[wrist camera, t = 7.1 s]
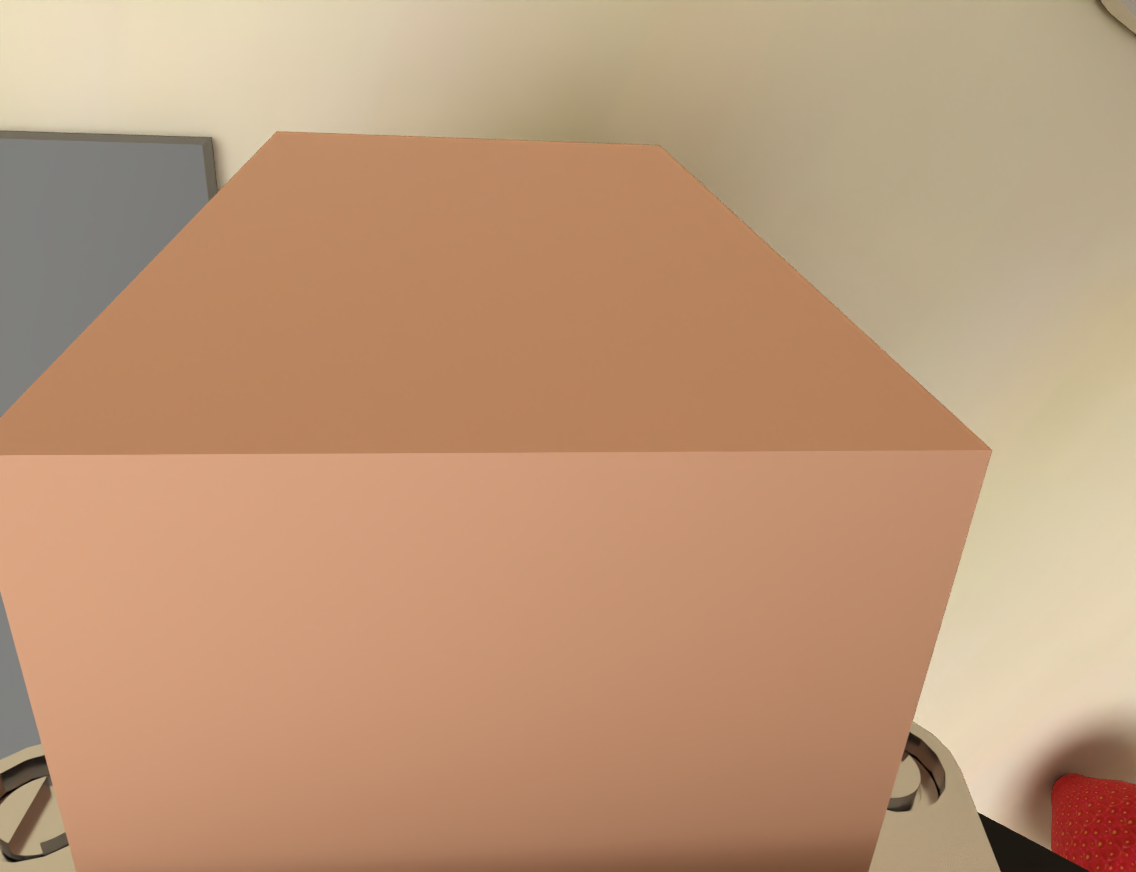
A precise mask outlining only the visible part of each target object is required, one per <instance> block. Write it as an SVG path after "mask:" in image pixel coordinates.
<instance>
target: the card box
mask: <svg viewBox="0 0 1136 872" xmlns="http://www.w3.org/2000/svg"><path fill="white" fill-rule="evenodd" d="M991 453H992V450H991V449H990V448H989V447H988V446H987V445H986V444H985V443H984V442H983V441H982V440H981V439H979V438H978V437H977V436H976V435H975V434H974V433H973V432H972V431H971V430H970V429H969V428H967V427H966V426H965V425H964V424H963V423H962V422H961V421H960V420H959V419H958V418H957V417H955V416H954V415H953V414H952V413H951V412H950V411H949V410H948V409H947V408H946V407H945V406H943V405H942V404H941V403H940V402H939V401H938V400H937V399H936V398H935V397H934V396H933V395H931V394H930V393H929V392H928V391H927V390H926V389H925V388H924V387H923V386H922V385H921V384H919V383H918V382H917V381H916V380H915V379H914V378H913V377H912V376H911V375H910V374H909V373H907V372H906V371H905V370H904V369H903V368H902V367H901V366H900V365H899V364H898V363H897V362H895V361H894V360H893V359H892V358H891V357H890V356H889V355H888V354H887V353H886V352H885V351H883V350H882V349H881V348H880V347H879V346H878V345H877V344H876V343H875V342H874V341H873V340H871V339H870V338H869V337H868V336H867V335H866V334H865V333H864V332H863V331H862V330H861V329H859V328H858V327H857V326H856V325H855V324H854V323H853V322H852V321H851V320H850V319H849V318H847V317H846V316H845V315H844V314H843V313H842V312H841V311H840V310H839V309H838V308H836V307H835V306H834V305H833V304H832V303H831V302H830V301H829V300H828V299H827V298H826V297H824V296H823V295H822V294H821V293H820V292H819V291H818V290H817V289H816V288H815V287H814V286H812V285H811V284H810V283H809V282H808V281H807V280H806V279H805V278H804V277H803V276H802V275H800V274H799V273H798V272H797V271H796V270H795V269H794V268H793V267H792V266H791V265H790V264H788V263H787V262H786V261H785V260H784V259H783V258H782V257H781V256H780V255H779V254H778V253H776V252H775V251H774V250H773V249H772V248H771V247H770V246H769V245H768V244H767V243H766V242H764V241H763V240H762V239H761V238H760V237H759V236H758V235H757V234H756V233H755V232H754V231H752V230H751V229H750V228H749V227H748V226H747V225H746V224H745V223H744V222H743V221H742V220H740V219H739V218H738V217H737V216H736V215H735V214H734V213H733V212H732V211H731V210H730V209H728V208H727V207H726V206H725V205H724V204H723V203H722V202H721V201H720V200H719V199H718V198H716V197H715V196H714V195H713V194H712V193H711V192H710V191H709V190H708V189H707V188H706V187H704V186H703V185H702V184H701V183H700V182H699V181H698V180H697V179H696V178H695V177H694V176H692V175H691V174H690V173H689V172H688V171H687V170H686V169H685V168H684V167H683V166H682V165H680V164H679V163H678V162H677V161H676V160H675V159H674V158H673V157H672V156H671V155H670V154H668V153H667V152H666V151H665V150H664V149H663V148H662V147H661V146H660V145H638V144H610V143H583V142H555V141H528V140H500V139H473V138H445V137H418V136H390V135H362V134H335V133H307V132H280V131H277V132H276V133H275V134H274V135H273V136H272V137H271V138H270V139H269V140H268V141H267V142H266V143H265V144H264V145H263V146H262V147H261V148H260V149H259V150H258V151H257V152H256V153H255V154H254V156H253V157H252V158H251V159H250V160H249V161H248V162H247V163H246V164H245V165H244V166H243V167H242V168H241V169H240V170H239V171H238V172H237V173H236V174H235V175H234V176H233V177H232V178H231V179H230V180H229V181H228V182H227V183H226V184H225V186H224V187H223V188H222V189H221V190H220V191H219V192H218V193H217V194H216V195H215V196H214V197H213V198H212V199H211V200H210V201H209V202H208V203H207V204H206V205H205V206H204V207H203V208H202V209H201V210H200V211H199V212H198V213H197V214H196V216H195V217H194V218H193V219H192V220H191V221H190V222H189V223H188V224H187V225H186V226H185V227H184V228H183V229H182V230H181V231H180V232H179V233H178V234H177V235H176V236H175V237H174V238H173V239H172V240H171V241H170V242H169V243H168V244H167V246H166V247H165V248H164V249H163V250H162V251H161V252H160V253H159V254H158V255H157V256H156V257H155V258H154V259H153V260H152V261H151V262H150V263H149V264H148V265H147V266H146V267H145V268H144V269H143V270H142V271H141V272H140V273H139V274H138V276H137V277H136V278H135V279H134V280H133V281H132V282H131V283H130V284H129V285H128V286H127V287H126V288H125V289H124V290H123V291H122V292H121V293H120V294H119V295H118V296H117V297H116V298H115V299H114V300H113V301H112V302H111V303H110V304H109V306H108V307H107V308H106V309H105V310H104V311H103V312H102V313H101V314H100V315H99V316H98V317H97V318H96V319H95V320H94V321H93V322H92V323H91V324H90V325H89V326H88V327H87V328H86V329H85V330H84V331H83V332H82V333H81V334H80V336H79V337H78V338H77V339H76V340H75V341H74V342H73V343H72V344H71V345H70V346H69V347H68V348H67V349H66V350H65V351H64V352H63V353H62V354H61V355H60V356H59V357H58V358H57V359H56V360H55V361H54V362H53V363H52V364H51V366H50V367H49V368H48V369H47V370H46V371H45V372H44V373H43V374H42V375H41V376H40V377H39V378H38V379H37V380H36V381H35V382H34V383H33V384H32V385H31V386H30V387H29V388H28V389H27V390H26V391H25V392H24V393H23V394H22V396H21V397H20V398H19V399H18V400H17V401H16V402H15V403H14V404H13V405H12V406H11V407H10V408H9V409H8V410H7V411H6V412H5V413H4V414H3V415H2V416H1V417H0V592H1V596H2V600H3V603H4V607H5V611H6V614H7V618H8V622H9V625H10V629H11V633H12V636H13V640H14V644H15V648H16V651H17V655H18V659H19V662H20V666H21V670H22V673H23V677H24V681H25V684H26V688H27V692H28V696H29V699H30V703H31V707H32V710H33V714H34V718H35V721H36V725H37V729H38V732H39V736H40V740H41V744H42V747H43V751H44V755H45V758H46V762H47V766H48V769H49V773H50V777H51V780H52V784H53V788H54V792H55V795H56V799H57V803H58V806H59V810H60V814H61V817H62V821H63V825H64V828H65V832H66V836H67V840H68V843H69V847H70V851H71V854H72V858H73V862H74V865H75V869H76V872H869V868H870V865H871V861H872V858H873V855H874V851H875V848H876V844H877V841H878V837H879V834H880V831H881V827H882V824H883V820H884V817H885V814H886V810H887V807H888V803H889V800H890V797H891V793H892V790H893V786H894V783H895V780H896V776H897V773H898V769H899V766H900V763H901V759H902V756H903V752H904V749H905V746H906V742H907V739H908V735H909V732H910V728H911V725H912V722H913V718H914V715H915V711H916V708H917V705H918V701H919V698H920V694H921V691H922V688H923V684H924V681H925V677H926V674H927V671H928V667H929V664H930V660H931V657H932V654H933V650H934V647H935V643H936V640H937V637H938V633H939V630H940V626H941V623H942V619H943V616H944V613H945V609H946V606H947V602H948V599H949V596H950V592H951V589H952V585H953V582H954V579H955V575H956V572H957V568H958V565H959V562H960V558H961V555H962V551H963V548H964V545H965V541H966V538H967V534H968V531H969V528H970V524H971V521H972V517H973V514H974V510H975V507H976V504H977V500H978V497H979V493H980V490H981V487H982V483H983V480H984V476H985V473H986V470H987V466H988V463H989V459H990V456H991Z"/></svg>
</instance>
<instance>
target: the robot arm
mask: <svg viewBox="0 0 1136 872" xmlns="http://www.w3.org/2000/svg"><path fill="white" fill-rule="evenodd" d="M1101 2H1102V3H1103V4H1104V6H1105V7H1106V8H1107V10H1108V11H1109V13H1111V14H1112V15H1113V16H1114V17H1116V18H1117V19H1118V20H1119V21H1120V22H1122V23H1123V24H1124V25H1125V26H1126V27H1128V28H1129V29H1130V30H1131V31H1133V32H1134V33H1135V34H1136V0H1101ZM0 872H76V869H75V865H74V862H73V858H72V854H71V851H70V847H69V843H68V840H67V836H66V832H65V828H64V825H63V821H62V817H61V814H60V810H59V806H58V803H57V799H56V795H55V792H54V788H53V784H52V780H51V777H50V773H49V769H48V766H47V762H46V758H45V755H44V751H43V747H42V744H39V745H35V746H31V747H27V748H25V749H23V750H21V751H19V752H17V753H14V754H12V755H10V756H8V757H6V758H3V759H1V760H0ZM869 872H1090V871H1088V870H1086V869H1084V868H1082V867H1081V866H1079V865H1077V864H1075V863H1073V862H1071V861H1069V860H1067V859H1065V858H1063V857H1062V856H1060V855H1058V854H1056V853H1054V852H1052V851H1050V850H1048V849H1046V848H1045V847H1043V846H1041V845H1039V844H1037V843H1035V842H1033V841H1031V840H1029V839H1027V838H1026V837H1024V836H1022V835H1020V834H1018V833H1016V832H1014V831H1012V830H1010V829H1009V828H1007V827H1005V826H1003V825H1001V824H999V823H997V822H995V821H993V820H991V819H990V818H988V817H986V816H984V815H982V814H980V813H978V812H977V810H976V807H975V805H974V802H973V800H972V797H971V795H970V792H969V789H968V787H967V784H966V782H965V779H964V777H963V774H962V772H961V769H960V767H959V766H958V764H957V762H956V761H955V759H954V757H953V756H952V754H951V752H950V751H949V750H948V749H947V748H946V747H945V746H944V745H943V744H942V743H941V742H940V741H939V740H938V739H937V738H936V737H935V736H934V735H933V734H932V733H930V732H929V731H927V730H926V729H924V728H922V727H921V726H919V725H918V724H916V723H915V722H912V725H911V728H910V732H909V735H908V739H907V742H906V746H905V749H904V752H903V756H902V759H901V763H900V766H899V769H898V773H897V776H896V780H895V783H894V786H893V790H892V793H891V797H890V800H889V803H888V807H887V810H886V814H885V817H884V820H883V824H882V827H881V831H880V834H879V837H878V841H877V844H876V848H875V851H874V855H873V858H872V861H871V865H870V868H869Z"/></svg>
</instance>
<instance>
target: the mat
mask: <svg viewBox="0 0 1136 872" xmlns="http://www.w3.org/2000/svg"><path fill="white" fill-rule="evenodd" d="M216 194H217V184H216V175H215V166H214V157H213V148H212V139H211V137H179V136H148V135H116V134H85V133H53V132H22V131H0V417H1V416H2V415H3V414H4V413H5V412H6V411H7V410H8V409H9V408H10V407H11V406H12V405H13V404H14V403H15V402H16V401H17V400H18V399H19V398H20V397H21V396H22V394H23V393H24V392H25V391H26V390H27V389H28V388H29V387H30V386H31V385H32V384H33V383H34V382H35V381H36V380H37V379H38V378H39V377H40V376H41V375H42V374H43V373H44V372H45V371H46V370H47V369H48V368H49V367H50V366H51V364H52V363H53V362H54V361H55V360H56V359H57V358H58V357H59V356H60V355H61V354H62V353H63V352H64V351H65V350H66V349H67V348H68V347H69V346H70V345H71V344H72V343H73V342H74V341H75V340H76V339H77V338H78V337H79V336H80V334H81V333H82V332H83V331H84V330H85V329H86V328H87V327H88V326H89V325H90V324H91V323H92V322H93V321H94V320H95V319H96V318H97V317H98V316H99V315H100V314H101V313H102V312H103V311H104V310H105V309H106V308H107V307H108V306H109V304H110V303H111V302H112V301H113V300H114V299H115V298H116V297H117V296H118V295H119V294H120V293H121V292H122V291H123V290H124V289H125V288H126V287H127V286H128V285H129V284H130V283H131V282H132V281H133V280H134V279H135V278H136V277H137V276H138V274H139V273H140V272H141V271H142V270H143V269H144V268H145V267H146V266H147V265H148V264H149V263H150V262H151V261H152V260H153V259H154V258H155V257H156V256H157V255H158V254H159V253H160V252H161V251H162V250H163V249H164V248H165V247H166V246H167V244H168V243H169V242H170V241H171V240H172V239H173V238H174V237H175V236H176V235H177V234H178V233H179V232H180V231H181V230H182V229H183V228H184V227H185V226H186V225H187V224H188V223H189V222H190V221H191V220H192V219H193V218H194V217H195V216H196V214H197V213H198V212H199V211H200V210H201V209H202V208H203V207H204V206H205V205H206V204H207V203H208V202H209V201H210V200H211V199H212V198H213V197H214V196H215V195H216ZM39 744H41V740H40V736H39V732H38V729H37V725H36V721H35V718H34V714H33V710H32V707H31V703H30V699H29V696H28V692H27V688H26V684H25V681H24V677H23V673H22V670H21V666H20V662H19V659H18V655H17V651H16V648H15V644H14V640H13V636H12V633H11V629H10V625H9V622H8V618H7V614H6V611H5V607H4V603H3V600H2V596H1V592H0V760H1V759H3V758H6V757H8V756H10V755H12V754H14V753H17V752H19V751H21V750H23V749H25V748H27V747H31V746H35V745H39Z"/></svg>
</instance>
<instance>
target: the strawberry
mask: <svg viewBox="0 0 1136 872" xmlns="http://www.w3.org/2000/svg"><path fill="white" fill-rule="evenodd" d="M1051 803H1052V832H1051V849H1052V852H1054V853H1056V854H1058V855H1060V856H1062V857H1063V858H1065V859H1067V860H1069V861H1071V862H1073V863H1075V864H1077V865H1079V866H1081V867H1082V868H1084V869H1086V870H1088V871H1090V872H1136V785H1135V784H1131V783H1127V782H1123V781H1116V780H1105V779H1095V778H1090V777H1086V776H1083V775H1079V774H1066V775H1064V776H1062V777H1060V778H1059V779H1058V780H1057V781H1056V782H1055V784H1054V786H1053V789H1052V793H1051Z"/></svg>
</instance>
